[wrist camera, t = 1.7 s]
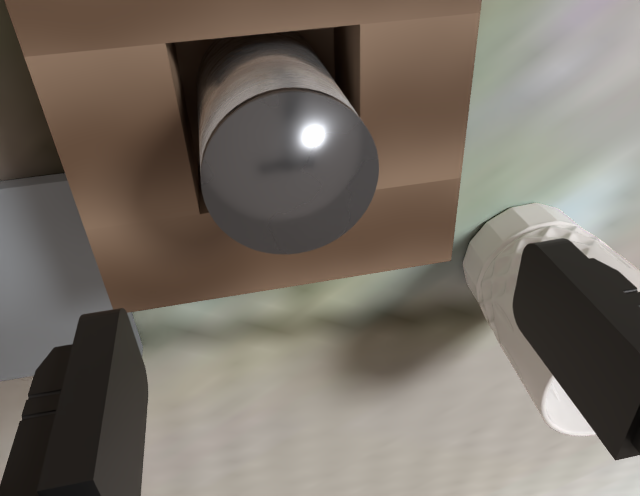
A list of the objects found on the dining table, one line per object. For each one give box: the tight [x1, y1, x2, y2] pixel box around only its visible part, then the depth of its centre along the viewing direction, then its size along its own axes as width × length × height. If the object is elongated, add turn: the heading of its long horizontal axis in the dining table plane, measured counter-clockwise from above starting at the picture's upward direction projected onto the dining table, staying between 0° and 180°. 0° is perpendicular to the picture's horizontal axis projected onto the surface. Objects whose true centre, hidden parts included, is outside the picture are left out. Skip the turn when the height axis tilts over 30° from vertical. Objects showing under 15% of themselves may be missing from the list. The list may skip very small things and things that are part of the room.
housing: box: [4, 0, 482, 313], centre depth 21 cm, size 14×14×6 cm
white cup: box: [462, 203, 640, 436], centre depth 28 cm, size 8×8×10 cm
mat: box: [0, 173, 143, 381], centre depth 26 cm, size 11×10×1 cm
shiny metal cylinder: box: [197, 31, 379, 254], centre depth 18 cm, size 5×5×8 cm
